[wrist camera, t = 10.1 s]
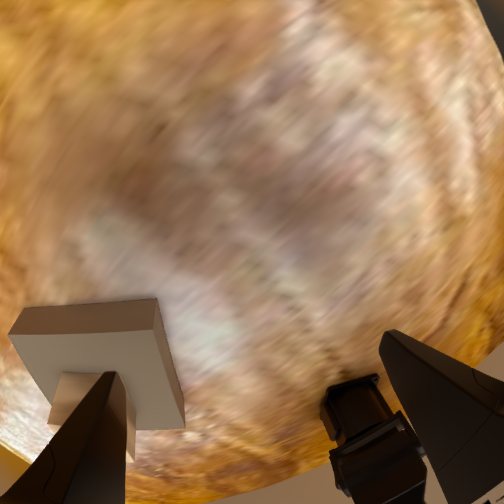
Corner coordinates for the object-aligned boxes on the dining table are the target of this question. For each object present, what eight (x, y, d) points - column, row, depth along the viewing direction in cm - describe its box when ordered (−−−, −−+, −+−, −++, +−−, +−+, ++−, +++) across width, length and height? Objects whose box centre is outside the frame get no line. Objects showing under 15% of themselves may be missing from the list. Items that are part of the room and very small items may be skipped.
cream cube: (120, 373, 19) (113, 430, 15) (136, 412, 21) (134, 462, 17) (62, 372, 18) (47, 423, 14) (83, 410, 20) (75, 457, 16)
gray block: (157, 294, 21) (152, 329, 18) (183, 395, 27) (185, 428, 23) (26, 304, 20) (7, 334, 16) (75, 397, 25) (68, 427, 21)
